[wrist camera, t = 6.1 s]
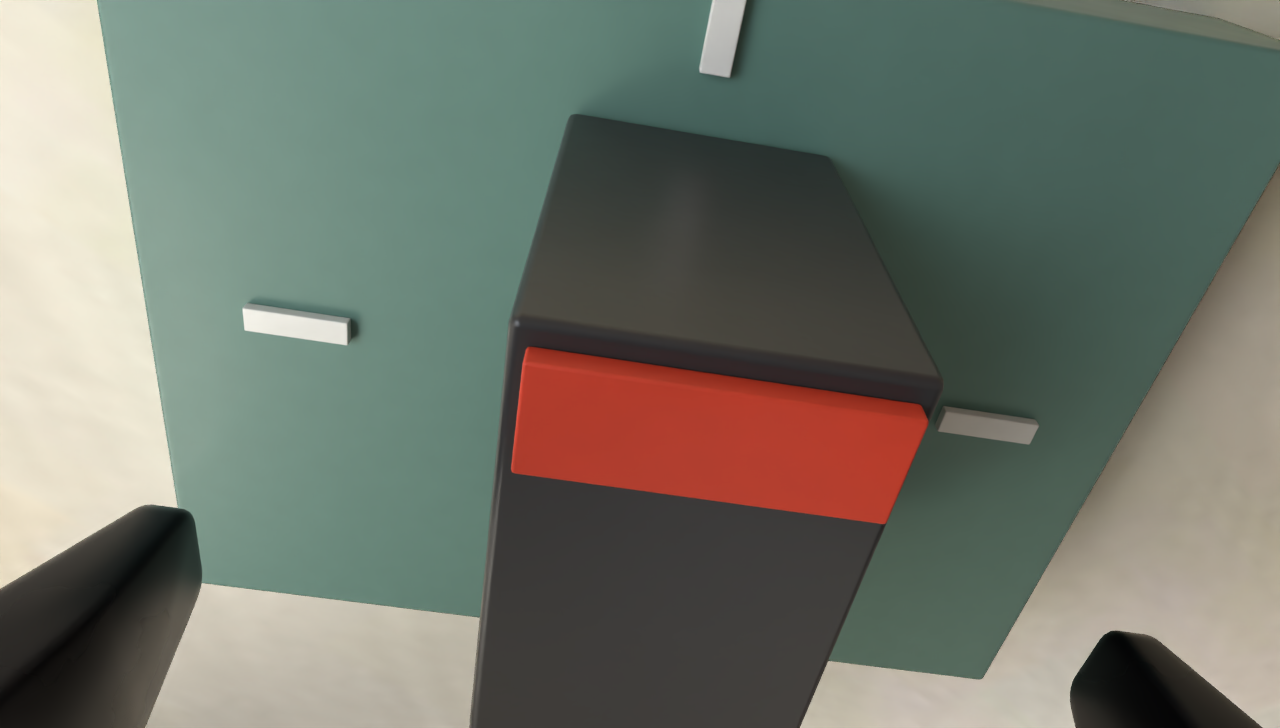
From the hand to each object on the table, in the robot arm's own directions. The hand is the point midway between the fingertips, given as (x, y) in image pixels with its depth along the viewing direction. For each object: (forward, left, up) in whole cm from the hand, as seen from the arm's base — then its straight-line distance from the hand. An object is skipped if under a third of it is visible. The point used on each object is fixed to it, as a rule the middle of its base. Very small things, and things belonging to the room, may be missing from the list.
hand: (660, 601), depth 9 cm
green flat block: (0, 0, -7) cm, 7 cm away
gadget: (0, 0, -4) cm, 4 cm away
